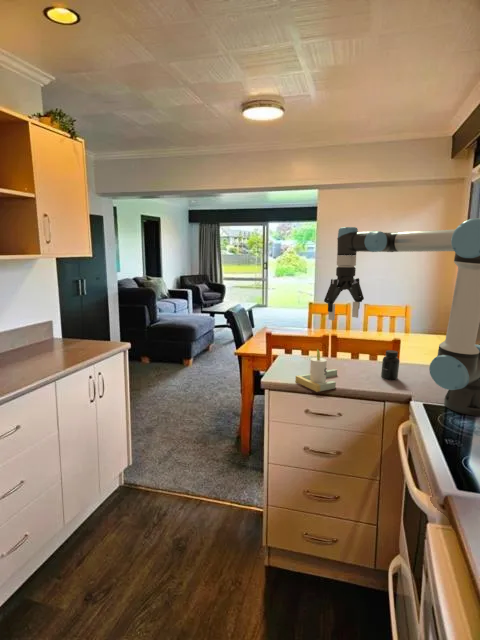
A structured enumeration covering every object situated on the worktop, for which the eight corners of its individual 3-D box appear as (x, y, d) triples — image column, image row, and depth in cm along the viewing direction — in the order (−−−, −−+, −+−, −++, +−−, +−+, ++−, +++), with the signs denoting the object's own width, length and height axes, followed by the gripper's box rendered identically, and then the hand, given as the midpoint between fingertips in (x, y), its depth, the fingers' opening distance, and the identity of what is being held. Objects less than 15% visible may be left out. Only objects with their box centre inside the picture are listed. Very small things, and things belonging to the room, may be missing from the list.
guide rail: (357, 383, 168) (357, 377, 168) (316, 391, 157) (317, 385, 157) (334, 374, 180) (334, 369, 179) (295, 381, 169) (295, 375, 169)
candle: (321, 388, 162) (323, 351, 159) (306, 384, 166) (308, 349, 163) (328, 384, 167) (330, 348, 164) (314, 380, 171) (315, 346, 168)
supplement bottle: (379, 379, 175) (382, 352, 172) (382, 374, 180) (384, 348, 178) (396, 381, 171) (399, 354, 169) (398, 377, 177) (401, 350, 175)
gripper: (360, 265, 173) (357, 315, 176) (316, 266, 160) (314, 319, 164) (374, 266, 167) (371, 317, 170) (329, 267, 154) (327, 322, 157)
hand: (343, 318), depth 167 cm, fingers open, 13 cm apart
